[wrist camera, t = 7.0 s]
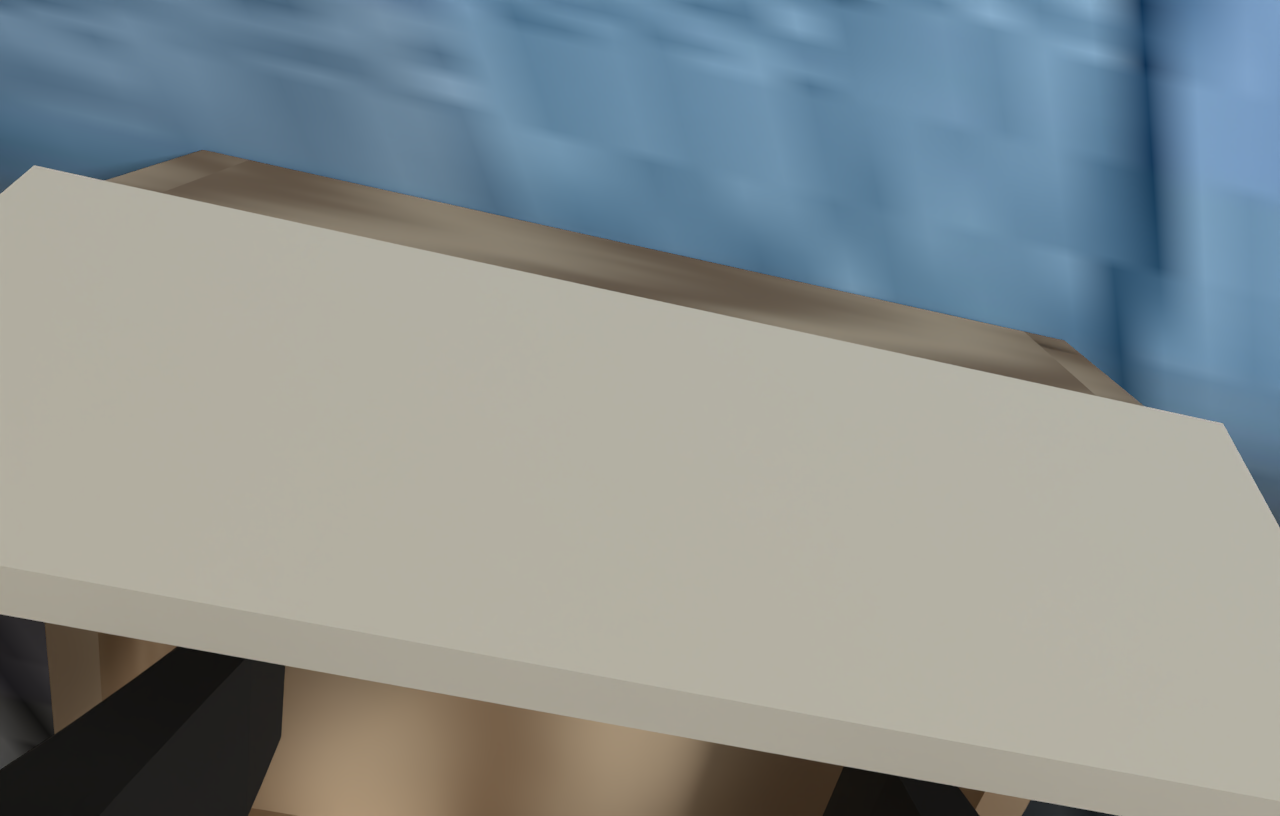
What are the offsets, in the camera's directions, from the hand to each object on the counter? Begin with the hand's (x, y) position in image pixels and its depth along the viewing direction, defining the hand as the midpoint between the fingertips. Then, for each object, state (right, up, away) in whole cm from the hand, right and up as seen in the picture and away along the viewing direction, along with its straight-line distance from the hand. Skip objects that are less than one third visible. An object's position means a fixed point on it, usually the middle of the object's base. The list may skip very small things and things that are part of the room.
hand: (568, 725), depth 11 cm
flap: (+1, +3, -1) cm, 3 cm away
